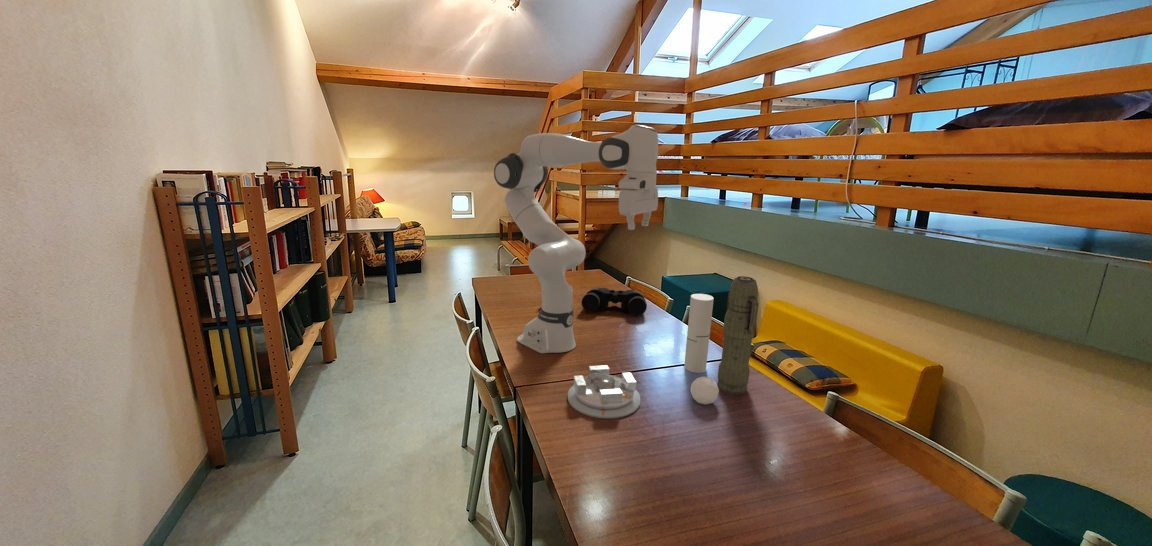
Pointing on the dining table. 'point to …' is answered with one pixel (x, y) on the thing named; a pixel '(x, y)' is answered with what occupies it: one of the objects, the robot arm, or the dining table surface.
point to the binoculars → (614, 300)
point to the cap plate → (603, 413)
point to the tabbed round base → (604, 389)
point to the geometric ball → (704, 390)
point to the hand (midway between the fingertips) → (638, 227)
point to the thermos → (738, 335)
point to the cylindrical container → (698, 332)
